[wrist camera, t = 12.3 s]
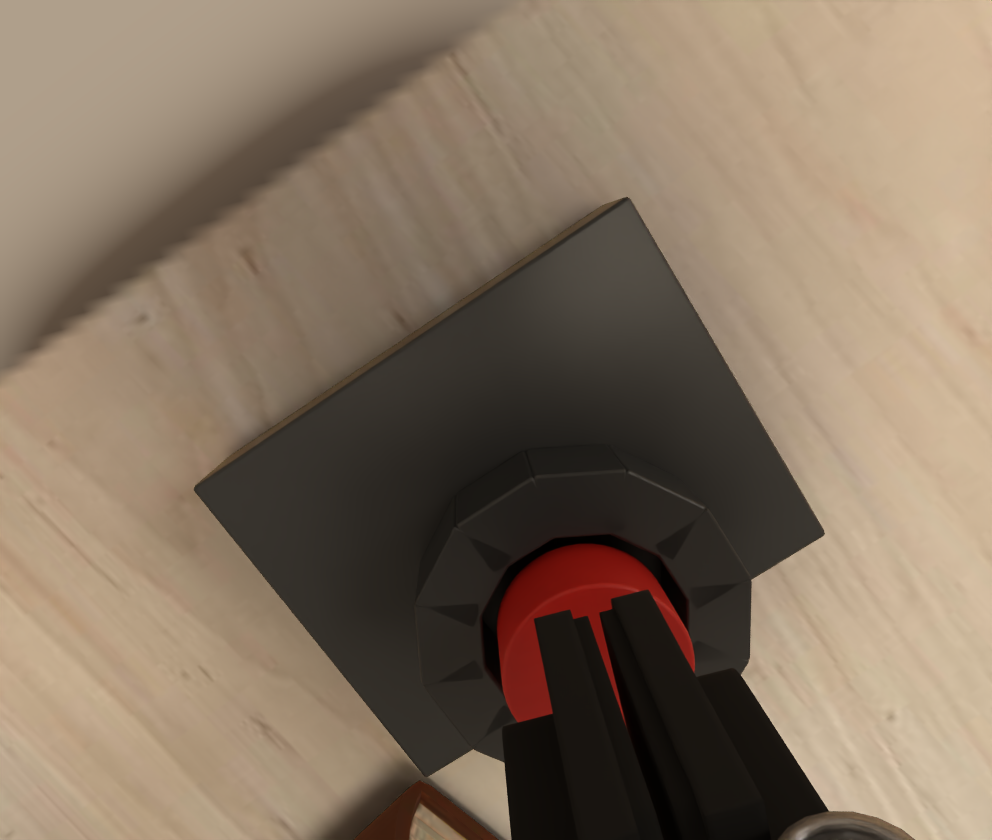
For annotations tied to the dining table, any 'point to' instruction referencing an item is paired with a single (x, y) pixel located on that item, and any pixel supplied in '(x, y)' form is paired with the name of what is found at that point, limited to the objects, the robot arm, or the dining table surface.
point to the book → (424, 819)
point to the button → (585, 591)
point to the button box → (514, 481)
